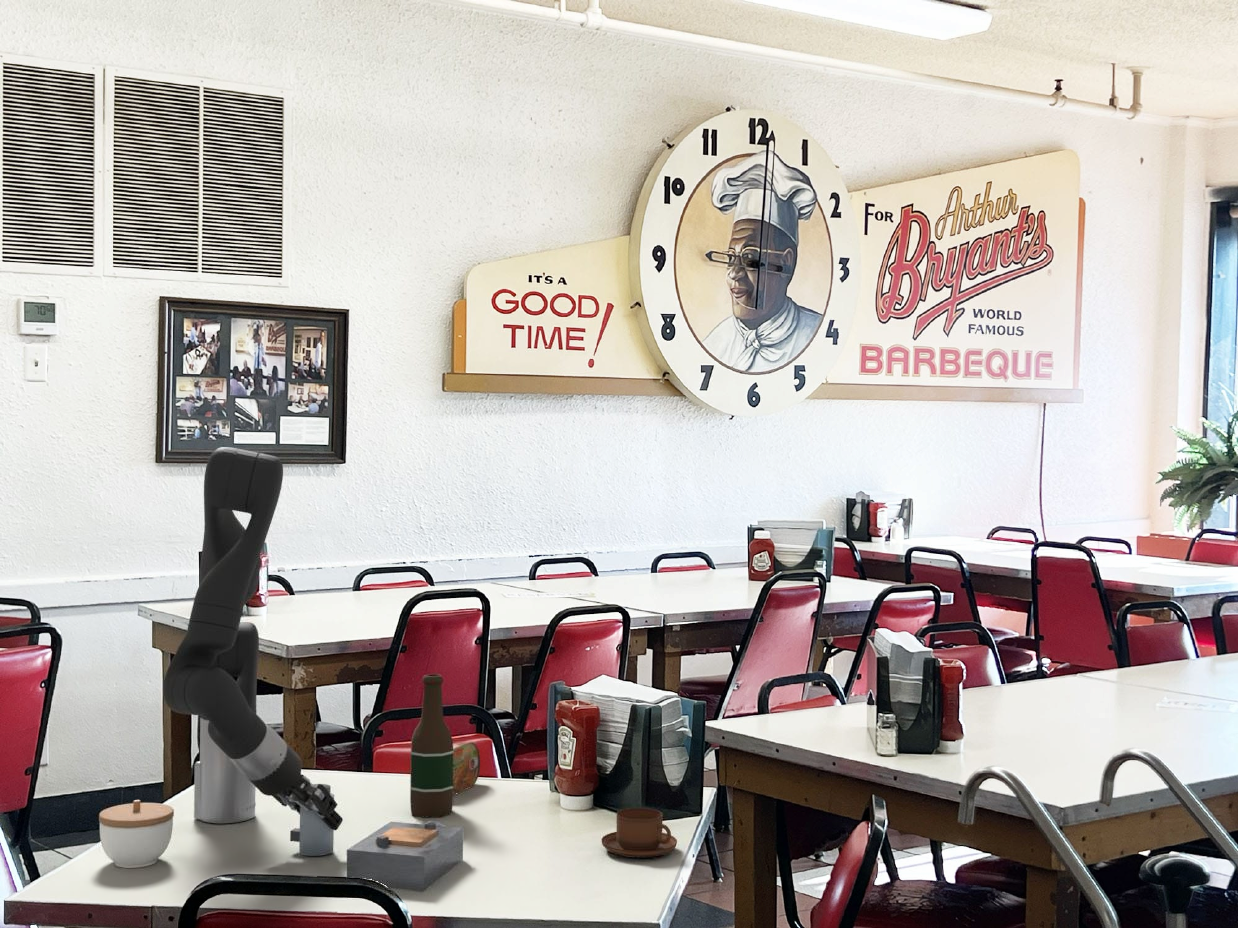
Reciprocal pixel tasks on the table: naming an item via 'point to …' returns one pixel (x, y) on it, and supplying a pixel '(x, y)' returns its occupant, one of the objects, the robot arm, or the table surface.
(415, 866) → the grey block with pad
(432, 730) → the beer bottle
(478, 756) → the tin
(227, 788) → the robot arm
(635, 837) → the cup and saucer
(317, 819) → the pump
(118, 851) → the lidded jar
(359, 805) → the table surface
